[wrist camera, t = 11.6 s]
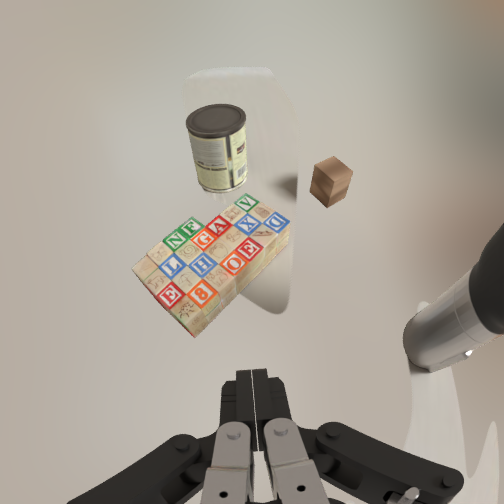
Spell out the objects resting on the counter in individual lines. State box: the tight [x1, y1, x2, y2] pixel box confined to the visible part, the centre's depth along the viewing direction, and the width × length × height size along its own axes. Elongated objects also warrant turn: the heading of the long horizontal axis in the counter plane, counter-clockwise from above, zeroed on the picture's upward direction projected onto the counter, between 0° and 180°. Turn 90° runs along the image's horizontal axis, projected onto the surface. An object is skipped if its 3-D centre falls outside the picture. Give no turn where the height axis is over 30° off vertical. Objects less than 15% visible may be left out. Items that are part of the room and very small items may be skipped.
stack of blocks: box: [132, 193, 290, 337], centre depth 43 cm, size 21×6×12 cm
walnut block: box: [310, 156, 353, 208], centre depth 50 cm, size 5×5×7 cm
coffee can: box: [186, 104, 248, 193], centre depth 50 cm, size 10×10×14 cm
